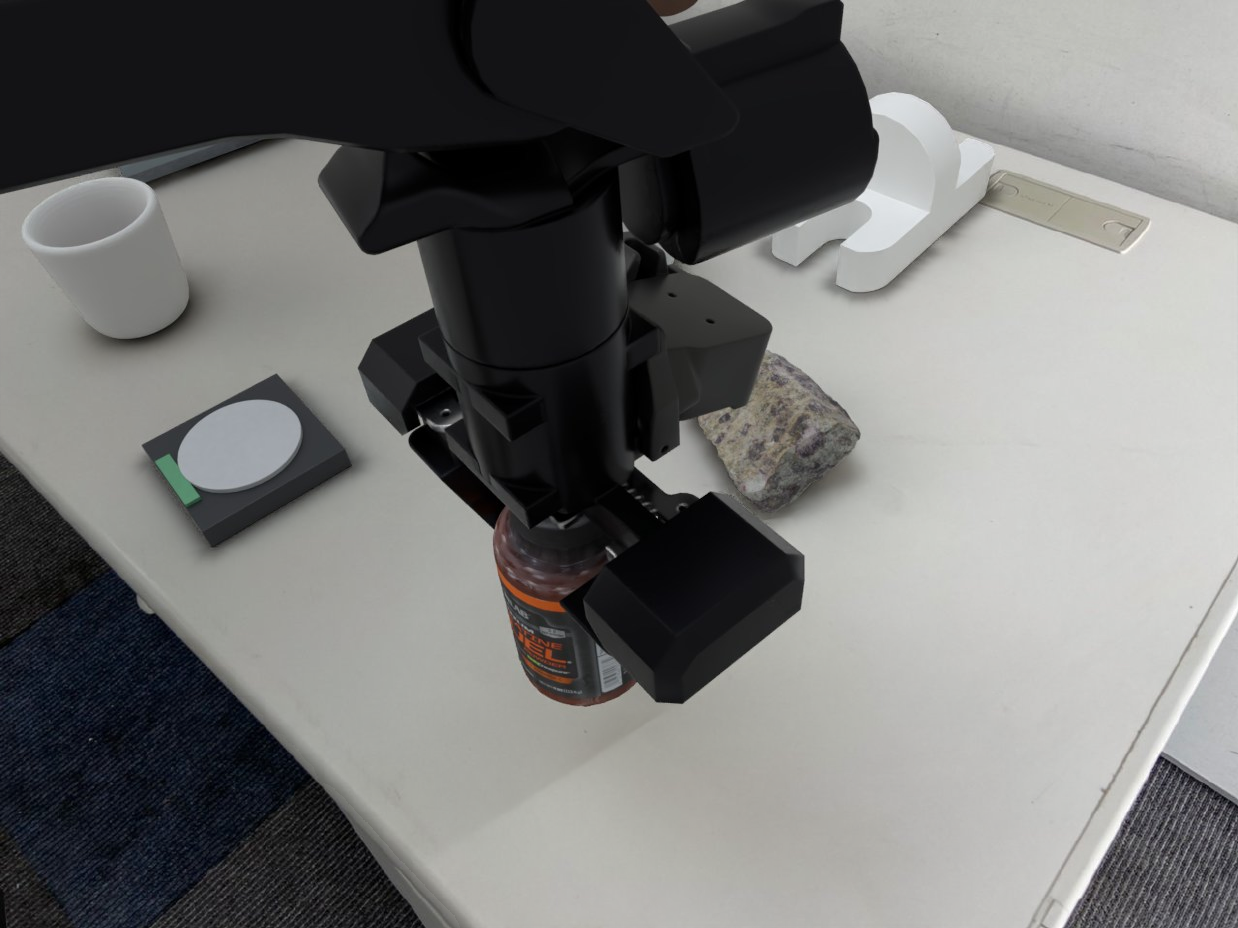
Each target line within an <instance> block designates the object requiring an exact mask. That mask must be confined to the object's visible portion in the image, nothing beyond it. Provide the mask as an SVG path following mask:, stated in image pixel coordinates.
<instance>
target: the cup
mask: <svg viewBox="0 0 1238 928" xmlns="http://www.w3.org/2000/svg"><path fill="white" fill-rule="evenodd" d="M21 226H22V227H21V237H22V240H23V243H24V244H25V246H26V247H27V249H28V250H29V251H30V253H31V254H32V255H33V256H34V258H35V259H36V260H37V262H38V263H39V264H40V266H42V268H43V269H44V270H45V272H46V273H47V274H48V275H49V277H50V278H51V279H52V281H53V282H54V283H55V285H57V287H58V288H59V289H60V290H61V292H62V293H63V294H64V296H65V297H66V298H67V300H69V302H70V303H71V304H72V306H73V307H74V308H75V310H76V311H77V312H78V313H79V315H80V316H81V317H82V318H83V319H84V320H85V322H86V323H88V325H89V326H90V327H92V329H94V330H95V331H97V332H98V333H100V334H102V335H104V336H106V337H109V338H113V339H118V340H119V339H120V340H123V339H124V340H130V339H137V338H143V337H147V336H149V335H152V334H155V333H157V332H159V331H162V330H163V329H165V328H167V327H168V326H170V325H171V324H173V323H174V322H175V321H176V320H178V318H179V317H180V316H181V315H182V314H183V312H184V311H185V310H186V308H187V305H188V303H189V299H190V288H189V282H188V279H187V278H188V277H187V276H186V272H185V269H184V266H183V264H182V261H181V258H180V256H179V253H178V250H177V248H176V245H175V242H174V239H173V236H172V234H171V231H170V229H169V226H168V223H167V220H166V217H165V214H164V211H163V209H162V206H161V203H160V201H159V198H158V196H157V193H156V192H155V191H154V189H153V188H152V187H151V186H150V185H149V184H147V183H144V182H141V181H138V180H136V179H132V178H124V176H122V177H121V176H114V177H113V176H111V177H110V176H109V177H101V178H96V179H90V180H86V181H85V180H84V181H82V182H80V183H76V184H73V185H71V186H67V187H66V188H63V189H61V190H59V191H57V192H55V193H54V194H52V195H50V196H48V197H47V198H45V199H44V200H43V201H41V202H40V203H38V204H37V205H36V206H35V207H34V208H33V209H32V210H31V211H30V212H29V213H28V214H27V216H26V218H25V219H24V221H23V223H22V225H21Z"/></svg>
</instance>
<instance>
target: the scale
mask: <svg viewBox="0 0 1238 928" xmlns="http://www.w3.org/2000/svg"><path fill="white" fill-rule="evenodd" d="M141 447H142V449H143V450H144V452H145V454H146V455H147V457H148V458H149V460H150V462H151V463H152V464H153V465H154V467H155V468H156V470H157V471H158V473H159V474H160V475H161V477H162V479H163V480H164V481H165V483H166V485H167V486H168V487H169V489H170V490H171V491H172V493H173V494H174V497H175V498H176V499H177V500H178V501H179V503H180V504H181V506H182V507H183V509H184V510H185V512H186V513H187V514H188V516H189V517H190V519H191V521H192V522H193V523H194V524H195V526H196V527H197V529H198V531H199V532H200V533H201V534H202V536H203V538H204V539H205V540H206V542H207V543H208V545H209V546H210V548H213V547H215V546H217V545H219V544H220V543H222V542H224V541H225V540H227V539H228V538H231V537H232V536H234V535H236V534H237V533H239V532H241V531H242V530H244V529H245V528H247V527H249V526H251V525H252V524H254V523H256V522H257V521H259V520H261V519H263V518H264V517H266V516H268V515H269V514H271V513H273V512H274V511H276V510H278V509H279V508H282V507H283V506H285V505H287V504H288V503H291V502H292V501H293V500H295V499H296V498H298V497H301V495H303V494H306V492H308V491H310V490H312V489H313V488H315V487H317V486H319V485H320V484H322V483H324V482H325V481H327V480H329V479H330V478H332V477H334V476H336V475H337V474H339V473H341V472H343V471H344V470H345V469H347V468H349V467H351V466H352V462H351V459H350V457H349V455H348V452H347V450H346V448H345V447H344V445H342V444H341V442H339V440H338V439H337V437H336V436H334V435H333V434H332V433H331V431H330V430H329V429H328V428H327V426H325V425H324V424H323V423H322V422H321V420H320V419H319V418H318V417H317V416H316V415H315V414H314V413H313V412H312V410H310V408H309V407H308V406H307V405H306V404H305V403H304V402H303V400H301V398H300V397H299V395H297V394H296V393H295V392H294V390H292V388H291V387H290V386H289V385H288V384H287V383H286V381H284V380H283V379H282V378H281V376H280V375H279V374H278V373H274V374H272V375H270V376H269V377H266V378H265V379H263V380H261V381H259V382H257V383H256V384H253V385H251V386H250V387H248V388H246V389H244V390H242V391H240V392H238V393H237V394H235V395H232V396H231V397H229V398H227V399H225V400H223V401H221V402H219V403H217V404H216V405H214V406H211V407H209V408H207V409H206V410H205V411H203V412H201V413H198V414H197V415H195V416H193V417H192V418H189V419H188V420H185V421H183V422H182V423H180V424H178V425H176V426H174V427H172V428H171V429H169V430H167V431H165V432H163V433H161V434H159V435H158V436H155V437H154V438H152V439H150V440H148V441H146V442H144V443H142V444H141Z"/></svg>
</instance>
